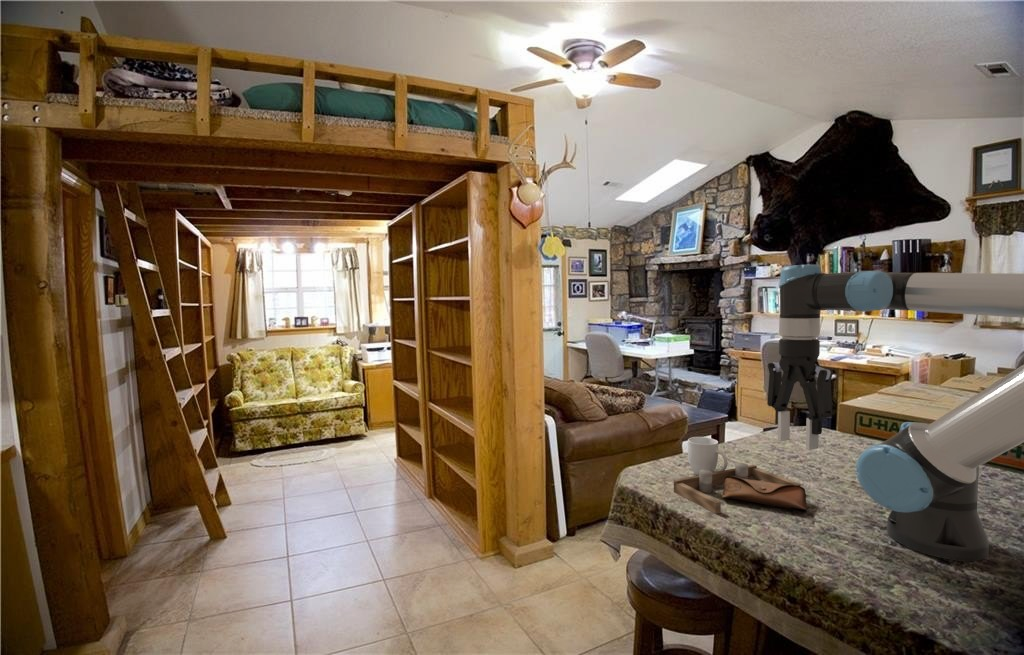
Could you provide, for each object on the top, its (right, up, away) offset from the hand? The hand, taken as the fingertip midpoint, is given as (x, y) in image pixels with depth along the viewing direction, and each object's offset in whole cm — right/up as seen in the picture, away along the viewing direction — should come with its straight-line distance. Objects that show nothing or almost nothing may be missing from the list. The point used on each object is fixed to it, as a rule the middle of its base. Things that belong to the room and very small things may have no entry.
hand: (797, 444), depth 106 cm
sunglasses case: (-3, -17, +9) cm, 20 cm away
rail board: (-6, -16, +16) cm, 24 cm away
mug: (-8, -16, +29) cm, 34 cm away
